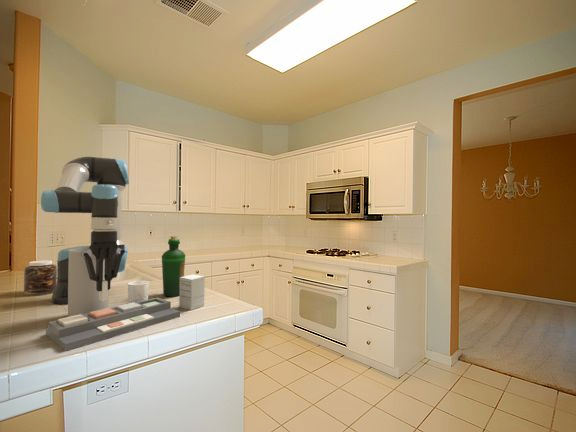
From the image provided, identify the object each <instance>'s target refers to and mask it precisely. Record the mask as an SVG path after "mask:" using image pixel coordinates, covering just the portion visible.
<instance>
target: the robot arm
mask: <svg viewBox="0 0 576 432" xmlns="http://www.w3.org/2000/svg"><path fill="white" fill-rule="evenodd" d="M127 164H128V163H127V162H126V161H125V160H123V159H117V158H108V157H107V158H106V157H97V156H95V157H94V156H82V157H77V158H75V159H72V160H70V161H68V162H67V163H66V164H64V166H63V167H62V169H61V174H62V175H61V178H60V180H59V181H58V183H57V185H56V187H55V189H51V190H43V191H42V193H41V197H40V205H41V206H40V207H41V210H42V211H44V212H45V213H53V214H54V213H55V214H63V213H64V214H65V213H66V214H69V213H70V214H74V213H75V214H91V215H90V216H91V217H90V219H91V221H90V222H91V223H90V230H92V231H91V232H90V245H81V246H80V245H79V246H73V247H68V248H64V249H61V250H59V251H58V253H57V260H56V263H57V265H56V267H57V285H56V288H55V290H54V293H52V296H51V303H52V304H58V305H65V304H66V305H68V267H69V250H71V249H79V248H89V250H87V251H86V252H82V253H81V255H82V257H83V258H84V259H85V263H86V266H87V270H88V274H89V278H90V280H93V281H96V290H97V291H99V300H100V301H107V292H108V290H111V281H112V280H113V279H116V278H117V277H118V273H122V272H123V271H124V270H125V269H126V264H127V263H126V262H127V259H128V252H129V251H128V250H129V248H128V247H125V244H126V243H124V242H123V241H122V212H123V211H122V207H123V205H122V204H123V203H122V202H123V201H122V199H123V197H122V196H123V191H124V190H125V189H126V187H127V185H129V184H130V180H129V172H128V170H129V169H128V165H127ZM86 182H87V183H96V184H94V185H92V186H91V191H90V192H88V191H85V192H84V191H82V189H83V187H84V183H86ZM91 252H92V254H93V255H94V256H95V257H96V274H95V270H94V266H93V262H92V259H91ZM104 260H105V268H104V279H105V280H103V261H104ZM108 293H109V292H108Z"/></svg>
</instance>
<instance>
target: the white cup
mask: <svg viewBox="0 0 576 432" xmlns="http://www.w3.org/2000/svg"><path fill="white" fill-rule="evenodd" d="M149 289H150V281H149V280H142V279H141V280H133V281H130V282H128V283H127V294H128V295H127V296H128V297H127V299H128V303H133V302H134V303H135V302H139V301H144V300H148V299H149Z"/></svg>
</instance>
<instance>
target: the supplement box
mask: <svg viewBox="0 0 576 432" xmlns="http://www.w3.org/2000/svg"><path fill="white" fill-rule="evenodd" d="M178 304H179V308H180V309H181V308H182V309H184V310H190V311H192V310H195V309H198V308H201V307H204V306H205V276H204V275H198V274H189V275H184V277H180V295H179V303H178Z"/></svg>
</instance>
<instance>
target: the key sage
mask: <svg viewBox="0 0 576 432" xmlns="http://www.w3.org/2000/svg"><path fill="white" fill-rule="evenodd" d="M156 304H160V303H159V302H156V301H154V302H150V303H146V304H142V305H145V306H147V307H148V306H152V305H156Z"/></svg>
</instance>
